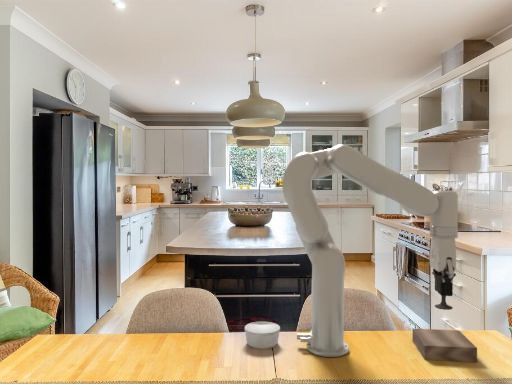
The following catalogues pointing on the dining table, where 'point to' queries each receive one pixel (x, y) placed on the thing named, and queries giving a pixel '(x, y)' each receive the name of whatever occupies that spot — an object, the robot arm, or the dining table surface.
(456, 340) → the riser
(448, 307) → the sundae
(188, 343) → the dining table surface
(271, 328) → the ramekin
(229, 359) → the dining table surface
